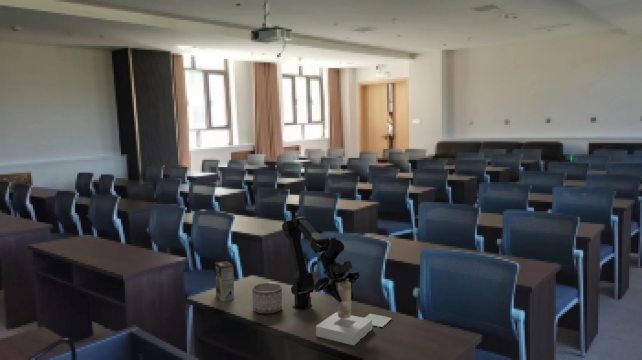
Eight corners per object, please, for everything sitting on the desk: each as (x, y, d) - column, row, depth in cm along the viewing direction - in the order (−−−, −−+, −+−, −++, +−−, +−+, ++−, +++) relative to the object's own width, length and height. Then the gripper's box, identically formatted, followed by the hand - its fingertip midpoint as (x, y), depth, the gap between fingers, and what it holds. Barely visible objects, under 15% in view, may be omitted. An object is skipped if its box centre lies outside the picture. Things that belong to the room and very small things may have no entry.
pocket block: (316, 336, 187) (316, 326, 186) (336, 321, 200) (336, 312, 200) (353, 345, 179) (353, 335, 178) (372, 329, 192) (372, 319, 192)
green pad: (359, 323, 198) (359, 321, 198) (369, 314, 207) (369, 313, 207) (382, 328, 193) (382, 326, 193) (391, 319, 202) (392, 318, 202)
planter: (269, 318, 204) (268, 294, 203) (246, 311, 211) (246, 288, 210) (287, 308, 215) (287, 285, 214) (265, 302, 222) (265, 280, 221)
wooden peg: (335, 316, 188) (335, 284, 186) (341, 312, 192) (341, 280, 191) (347, 319, 185) (347, 286, 184) (353, 315, 190) (353, 282, 188)
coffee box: (215, 295, 232) (214, 262, 230) (228, 293, 235) (227, 260, 233) (221, 301, 224) (220, 267, 222) (234, 299, 227) (233, 265, 225)
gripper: (318, 258, 184) (334, 295, 176) (357, 251, 194) (375, 285, 186) (307, 273, 192) (322, 309, 184) (346, 265, 202) (362, 299, 194)
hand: (346, 300), depth 187 cm, fingers closed on wooden peg, 5 cm apart
